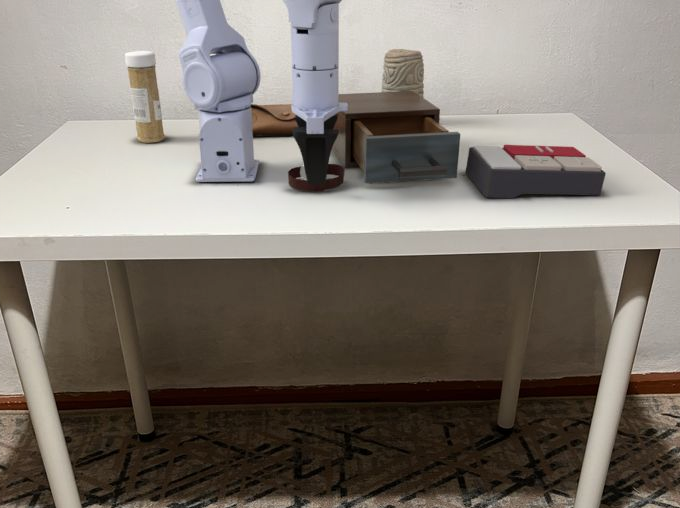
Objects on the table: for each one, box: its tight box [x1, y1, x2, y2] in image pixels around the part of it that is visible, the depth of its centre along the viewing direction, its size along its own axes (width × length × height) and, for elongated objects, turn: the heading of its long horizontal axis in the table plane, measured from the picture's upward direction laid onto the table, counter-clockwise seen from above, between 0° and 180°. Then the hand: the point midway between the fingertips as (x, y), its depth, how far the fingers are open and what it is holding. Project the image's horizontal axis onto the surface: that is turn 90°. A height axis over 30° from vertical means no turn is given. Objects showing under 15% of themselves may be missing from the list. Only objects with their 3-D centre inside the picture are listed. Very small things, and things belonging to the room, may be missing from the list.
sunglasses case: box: [251, 103, 298, 137], centre depth 119 cm, size 18×7×7 cm
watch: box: [287, 163, 346, 193], centre depth 92 cm, size 8×5×4 cm, turn 107°
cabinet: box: [331, 91, 441, 169], centre depth 106 cm, size 14×14×8 cm
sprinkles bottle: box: [124, 50, 166, 144], centre depth 112 cm, size 5×5×13 cm
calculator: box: [465, 144, 607, 199], centre depth 93 cm, size 11×4×15 cm
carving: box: [381, 48, 425, 99], centre depth 121 cm, size 6×8×12 cm
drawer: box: [351, 115, 461, 185], centre depth 94 cm, size 18×12×6 cm
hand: (316, 176), depth 93 cm, fingers open, 6 cm apart
